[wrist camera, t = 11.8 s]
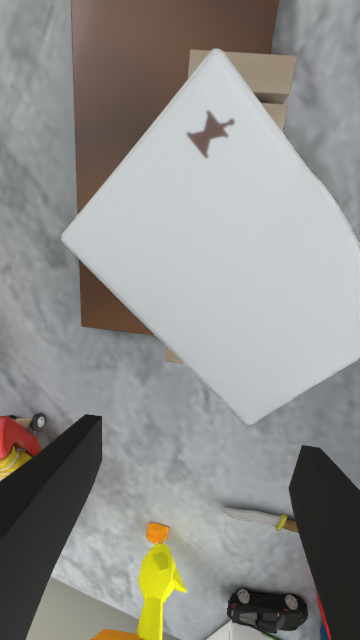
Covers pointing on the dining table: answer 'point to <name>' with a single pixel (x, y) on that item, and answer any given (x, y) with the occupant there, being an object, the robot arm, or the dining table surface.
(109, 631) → the toy figure
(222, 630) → the white packaging box
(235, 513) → the knife
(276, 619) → the toy car
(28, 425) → the toy airplane
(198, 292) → the cosmetic box
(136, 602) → the dining table surface
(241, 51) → the book rack
